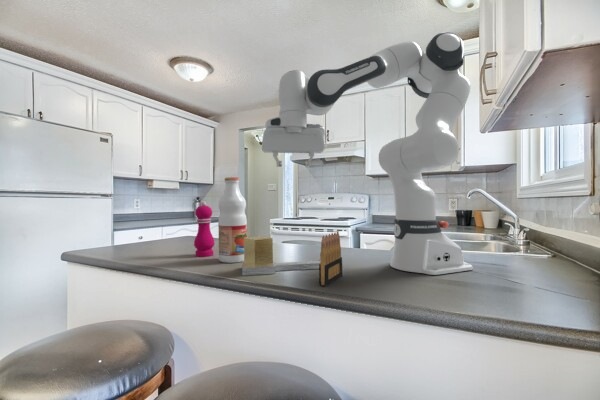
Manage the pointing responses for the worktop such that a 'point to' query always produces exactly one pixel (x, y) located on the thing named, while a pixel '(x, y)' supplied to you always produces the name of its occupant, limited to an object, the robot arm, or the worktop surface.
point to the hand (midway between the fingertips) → (293, 166)
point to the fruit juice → (232, 223)
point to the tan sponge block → (258, 251)
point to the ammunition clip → (330, 260)
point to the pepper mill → (204, 231)
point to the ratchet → (278, 267)
